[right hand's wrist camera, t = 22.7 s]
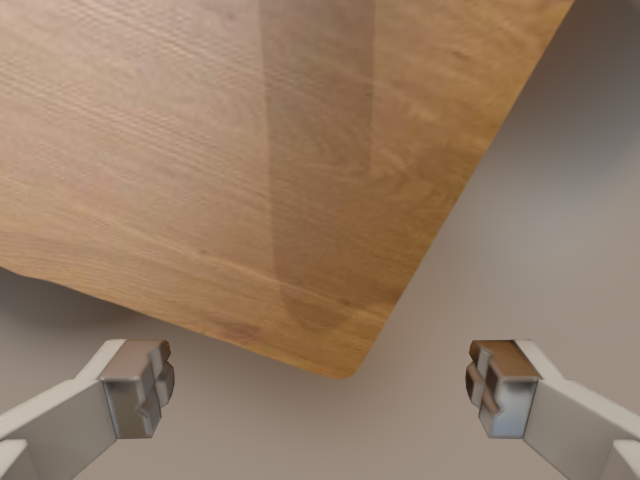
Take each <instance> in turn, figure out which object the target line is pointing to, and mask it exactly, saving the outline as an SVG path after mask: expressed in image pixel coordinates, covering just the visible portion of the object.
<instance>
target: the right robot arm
mask: <svg viewBox="0 0 640 480" xmlns="http://www.w3.org/2000/svg"><path fill="white" fill-rule="evenodd" d="M170 354H171V351H170V346H169V343H168V342H167V341H166V340H141V339H129V340H128V339H110V340H108V341H106V342H105V343H104V344H103V345H102V346H101V348H100V349H99V350H98V351H97V352H96V354H95V355H94V356H93V357H92V358H91V360H90V361H89V362H88V363H87V364H86V365H85V367H84V368H83V369H82V370H81V371H80V373H79V374H78V375H77V376H76V377H75V379H74V380H66V381H64V382H62V383H60V384H58V385H57V386H55V387H53V388H51V389H49V390H47V391H45V392H43V393H41V394H39V395H38V396H36V397H34V398H32V399H30V400H28V401H26V402H24V403H22V404H20V405H18V406H17V407H15V408H13V409H11V410H9V411H7V412H5V413H3V414H1V415H0V480H72V479H73V478H75V477H76V476H77V475H78V474H79V473H80V472H81V471H83V470H84V469H85V468H86V467H87V466H88V465H90V464H91V463H92V462H93V461H94V460H95V459H97V458H98V457H99V456H100V455H101V454H102V453H103V452H105V451H106V450H107V449H108V448H109V447H110V446H112V445H113V444H114V443H115V442H116V441H117V440H116V439H139V438H152V436H153V434H154V432H155V430H156V428H157V426H158V424H159V422H160V419H161V417H162V416H161V410H160V409H161V408H162V407H164V406H165V405H167V404H168V403H169V400H170V398H171V396H172V392H173V388H174V369H173V366H172V365H171V364H170V363H169V362H168V361H167V360H168V358H169V356H170ZM469 354H470V356H471V358H472V360H473V361H472V362H471V363H470V364H469V365H468V366H467V369H466V377H465V379H466V389H467V392H468V396H469V398H470V400H471V403H472V404H473V405H475V406H476V407H477V408H479V409H480V410H479V416H478V417H479V419H480V421H481V424H482V426H483V428H484V430H485V432H486V434H487V436H488V438H499V439H523V441H524V442H525V443H526V444H528V445H529V446H530V447H531V448H532V449H533V450H534V451H536V452H537V453H538V454H539V455H540V456H541V457H543V458H544V459H545V460H546V461H547V462H548V463H549V464H551V465H552V466H553V467H554V468H555V469H556V470H557V471H559V472H560V473H561V474H562V475H563V476H564V477H566V478H567V479H568V480H640V415H639V414H637V413H635V412H633V411H631V410H629V409H627V408H625V407H623V406H621V405H620V404H618V403H616V402H614V401H612V400H610V399H608V398H606V397H604V396H602V395H601V394H599V393H597V392H595V391H593V390H591V389H589V388H587V387H585V386H583V385H582V384H580V383H578V382H576V381H574V380H566V379H565V377H564V376H563V375H562V374H561V373H560V372H559V370H558V369H557V368H556V367H555V366H554V364H553V363H552V362H551V361H550V360H549V358H548V357H547V356H546V355H545V354H544V352H543V351H542V350H541V349H540V348H539V346H538V345H537V344H536V343H535V342H534V341H533V340H531V339H513V340H473V341H472V343H471V345H470V351H469Z"/></svg>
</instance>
